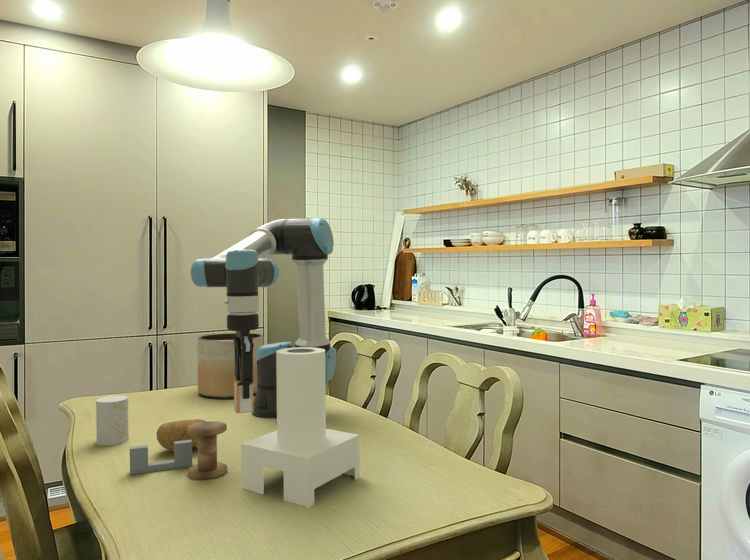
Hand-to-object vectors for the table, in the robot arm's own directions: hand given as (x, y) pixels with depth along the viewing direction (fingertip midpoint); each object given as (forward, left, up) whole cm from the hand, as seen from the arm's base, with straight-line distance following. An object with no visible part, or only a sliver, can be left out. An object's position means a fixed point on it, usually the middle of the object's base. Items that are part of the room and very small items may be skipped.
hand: (244, 409), depth 136 cm
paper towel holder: (-10, +15, -14) cm, 23 cm away
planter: (-9, -86, -14) cm, 87 cm away
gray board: (+19, -7, -14) cm, 25 cm away
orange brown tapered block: (0, 0, 0) cm, 0 cm away
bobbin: (+9, 0, -14) cm, 17 cm away
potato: (+13, -20, -14) cm, 28 cm away
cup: (+31, -36, -14) cm, 49 cm away
